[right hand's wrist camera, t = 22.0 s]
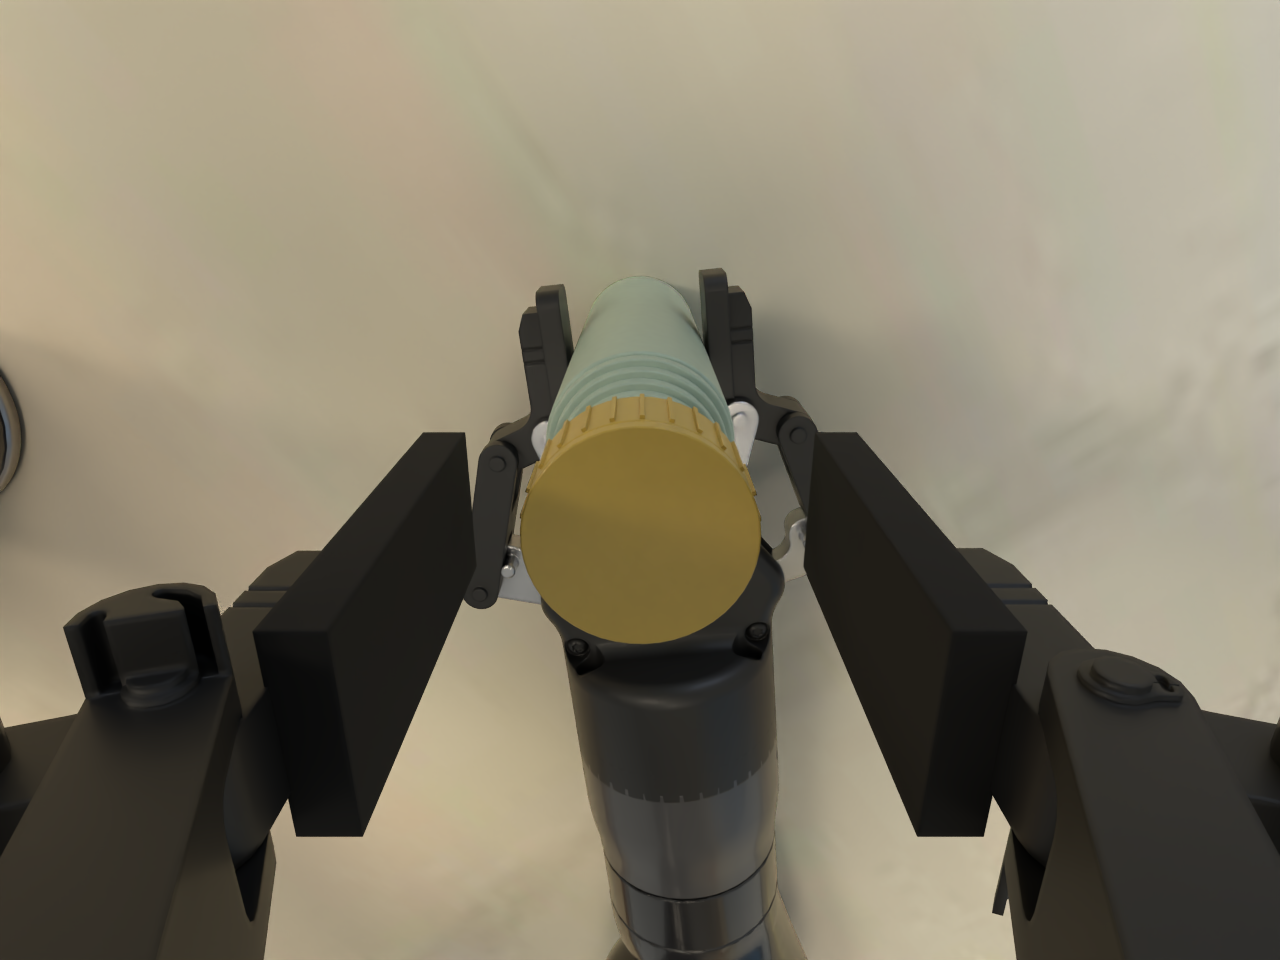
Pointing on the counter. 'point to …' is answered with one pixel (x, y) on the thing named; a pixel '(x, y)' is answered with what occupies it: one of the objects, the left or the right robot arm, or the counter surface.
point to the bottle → (640, 355)
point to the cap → (640, 521)
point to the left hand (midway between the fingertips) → (630, 282)
